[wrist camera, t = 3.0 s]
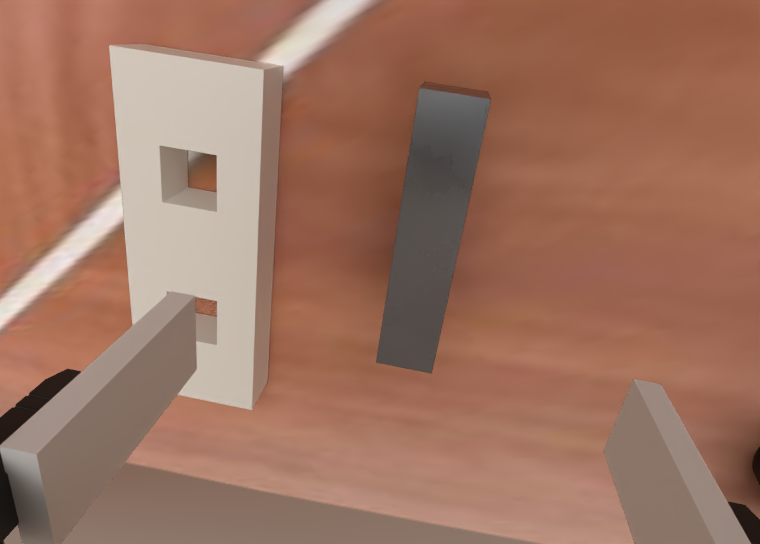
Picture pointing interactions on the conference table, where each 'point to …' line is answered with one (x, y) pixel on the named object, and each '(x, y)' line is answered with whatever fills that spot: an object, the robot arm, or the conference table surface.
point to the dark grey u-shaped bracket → (431, 221)
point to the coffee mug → (757, 465)
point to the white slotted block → (202, 202)
